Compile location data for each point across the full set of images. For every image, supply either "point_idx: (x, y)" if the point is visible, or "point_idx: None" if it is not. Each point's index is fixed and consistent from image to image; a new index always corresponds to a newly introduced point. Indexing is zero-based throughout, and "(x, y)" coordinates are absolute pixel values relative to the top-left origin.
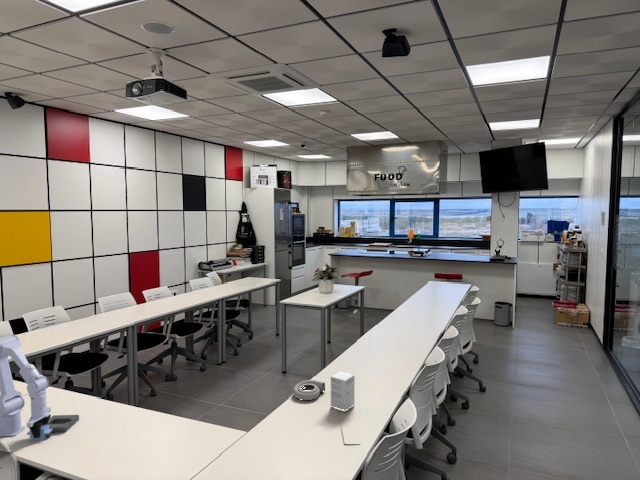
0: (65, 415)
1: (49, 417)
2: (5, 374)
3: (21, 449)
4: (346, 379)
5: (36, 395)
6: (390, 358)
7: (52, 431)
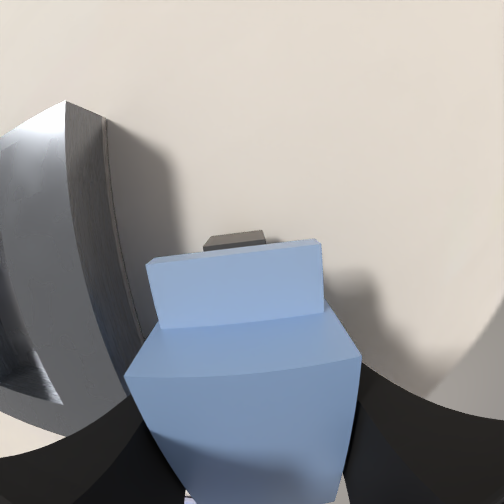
0: None
1: (17, 485)
2: None
3: (447, 355)
4: None
5: None
6: None
7: (119, 290)
